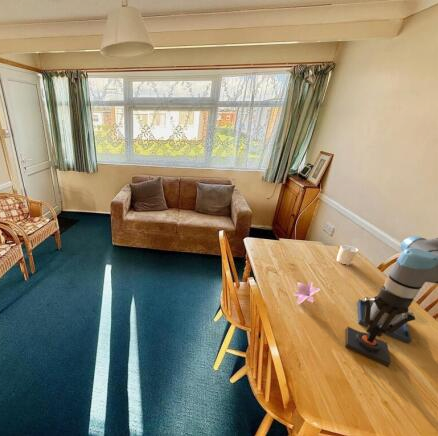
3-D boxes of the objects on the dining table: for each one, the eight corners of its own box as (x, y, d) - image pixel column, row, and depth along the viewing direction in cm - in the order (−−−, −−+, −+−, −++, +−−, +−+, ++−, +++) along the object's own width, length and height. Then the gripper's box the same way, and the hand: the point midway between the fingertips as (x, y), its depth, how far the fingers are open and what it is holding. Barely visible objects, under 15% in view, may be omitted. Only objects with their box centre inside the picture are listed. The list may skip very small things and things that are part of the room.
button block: (384, 346, 88) (389, 339, 87) (387, 367, 81) (393, 359, 79) (345, 330, 95) (348, 323, 93) (345, 347, 88) (349, 340, 86)
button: (374, 342, 87) (375, 338, 87) (375, 349, 84) (377, 346, 84) (360, 336, 90) (362, 333, 89) (360, 343, 87) (362, 340, 86)
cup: (364, 316, 100) (373, 299, 96) (372, 309, 104) (381, 292, 100) (389, 331, 94) (400, 313, 89) (397, 322, 97) (408, 305, 93)
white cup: (343, 258, 142) (349, 244, 138) (355, 265, 135) (361, 251, 131) (331, 258, 142) (337, 244, 137) (342, 266, 134) (348, 252, 130)
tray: (402, 319, 100) (404, 315, 99) (408, 344, 89) (411, 339, 88) (357, 302, 109) (358, 299, 108) (358, 323, 98) (360, 319, 97)
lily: (296, 289, 118) (291, 277, 115) (324, 292, 110) (320, 278, 106) (294, 309, 111) (289, 296, 107) (324, 313, 103) (319, 300, 99)
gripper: (424, 293, 75) (391, 341, 85) (371, 277, 83) (347, 323, 93) (430, 307, 70) (394, 357, 80) (373, 289, 77) (347, 336, 87)
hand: (369, 339), depth 86 cm, fingers closed
